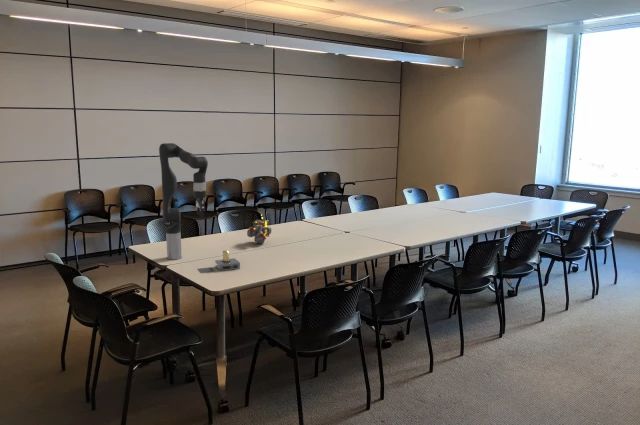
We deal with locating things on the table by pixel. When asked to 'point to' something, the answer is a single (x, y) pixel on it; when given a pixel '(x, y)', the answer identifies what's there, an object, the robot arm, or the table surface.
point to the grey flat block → (227, 264)
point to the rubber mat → (206, 270)
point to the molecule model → (256, 231)
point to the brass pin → (225, 257)
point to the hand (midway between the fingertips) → (200, 216)
